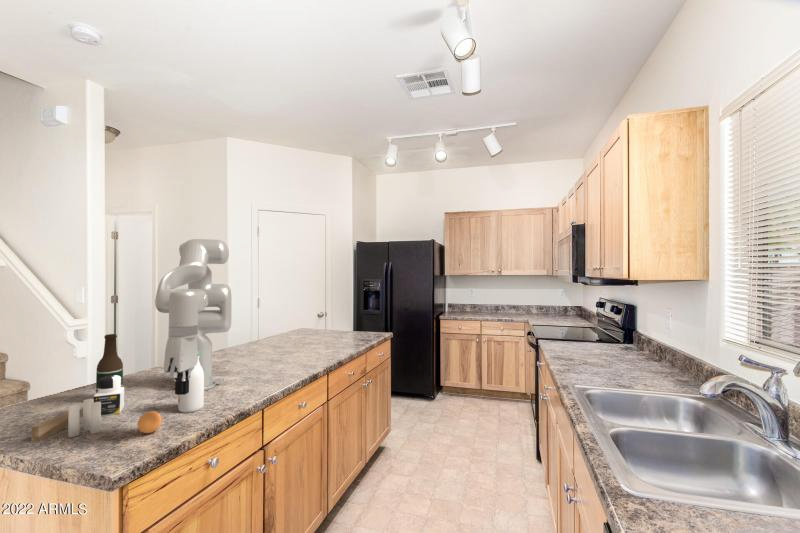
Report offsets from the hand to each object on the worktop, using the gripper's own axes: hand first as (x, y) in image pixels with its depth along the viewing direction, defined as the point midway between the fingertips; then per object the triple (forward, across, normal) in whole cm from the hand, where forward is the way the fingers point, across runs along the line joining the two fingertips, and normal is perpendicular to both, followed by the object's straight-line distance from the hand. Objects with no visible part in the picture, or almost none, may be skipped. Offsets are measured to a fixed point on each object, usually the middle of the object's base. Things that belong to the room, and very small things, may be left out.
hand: (181, 393), depth 109 cm
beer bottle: (+11, -28, -43) cm, 52 cm away
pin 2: (+11, -3, -30) cm, 32 cm away
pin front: (+12, -1, -26) cm, 28 cm away
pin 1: (+12, +2, -30) cm, 32 cm away
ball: (+9, -1, -10) cm, 13 cm away
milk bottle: (+12, -19, -8) cm, 24 cm away
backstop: (+11, -1, -38) cm, 39 cm away
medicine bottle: (+11, -16, -34) cm, 39 cm away
